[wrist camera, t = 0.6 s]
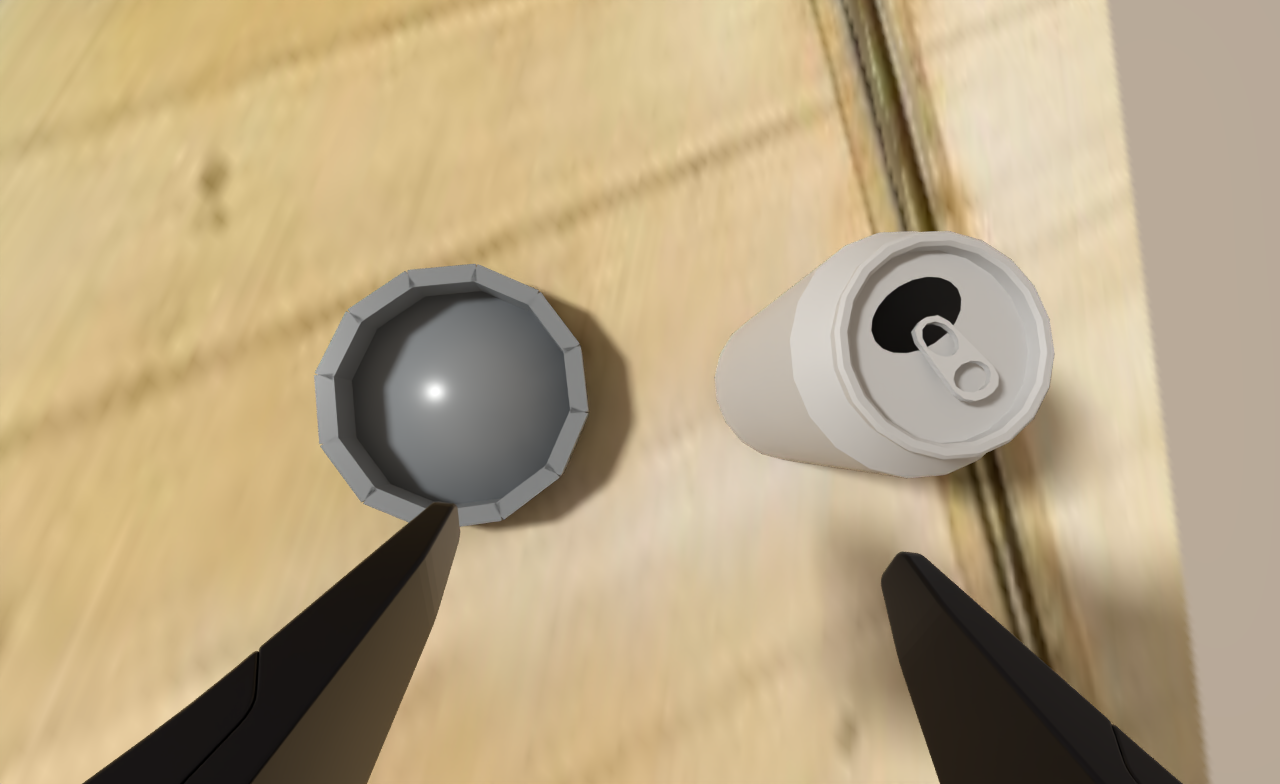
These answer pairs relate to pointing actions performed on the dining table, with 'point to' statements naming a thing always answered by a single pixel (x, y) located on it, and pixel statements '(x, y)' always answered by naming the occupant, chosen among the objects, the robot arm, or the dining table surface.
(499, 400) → the ring coaster
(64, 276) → the dining table surface
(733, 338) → the can
